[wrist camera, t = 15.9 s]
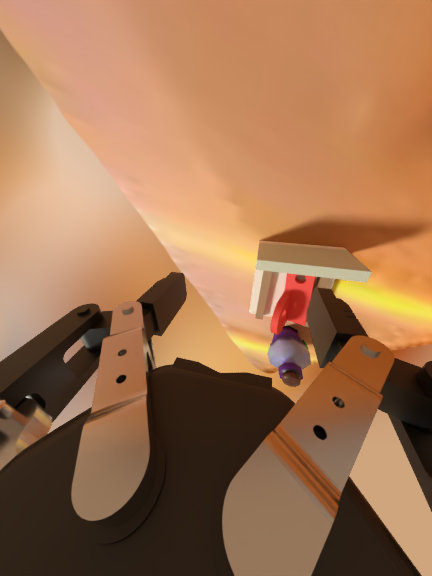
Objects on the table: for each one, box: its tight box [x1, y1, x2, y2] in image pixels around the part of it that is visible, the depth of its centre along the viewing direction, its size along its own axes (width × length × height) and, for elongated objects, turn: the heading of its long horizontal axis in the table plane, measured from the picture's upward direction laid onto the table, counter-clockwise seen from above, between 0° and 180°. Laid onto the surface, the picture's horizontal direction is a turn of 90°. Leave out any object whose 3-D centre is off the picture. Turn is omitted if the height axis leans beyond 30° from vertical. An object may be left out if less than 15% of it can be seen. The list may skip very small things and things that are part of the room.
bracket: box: [271, 273, 316, 335], centre depth 31 cm, size 12×4×8 cm, turn 6°
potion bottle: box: [268, 326, 311, 387], centre depth 37 cm, size 9×9×12 cm
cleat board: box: [249, 240, 372, 327], centre depth 31 cm, size 14×16×10 cm
